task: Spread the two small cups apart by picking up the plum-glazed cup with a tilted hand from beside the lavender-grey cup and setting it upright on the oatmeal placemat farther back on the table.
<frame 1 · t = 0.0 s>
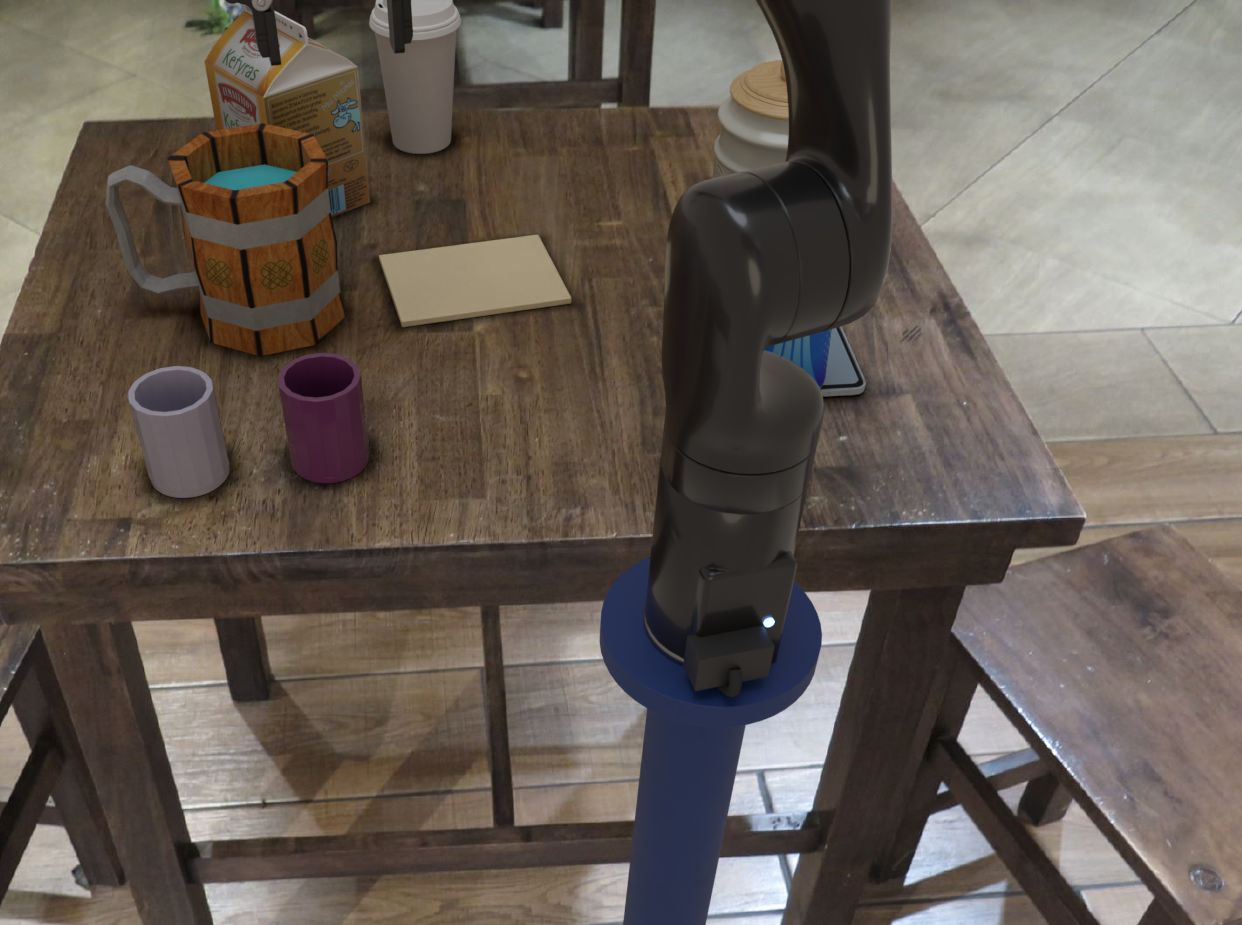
hand: (337, 55, 87), 28 cm above the table, tool pointing down, fingers open, 8 cm apart
milk carton: (299, 201, 131), on the table
beer can: (773, 387, 108), on the table, touching smartphone
smartphone: (803, 348, 112), on the table, touching beer can
coffee cup: (422, 142, 141), on the table
plum cup: (330, 458, 101), on the table
mug: (240, 315, 116), on the table
jar: (769, 232, 127), on the table
placemat: (473, 281, 120), on the table
grey cup: (190, 472, 100), on the table
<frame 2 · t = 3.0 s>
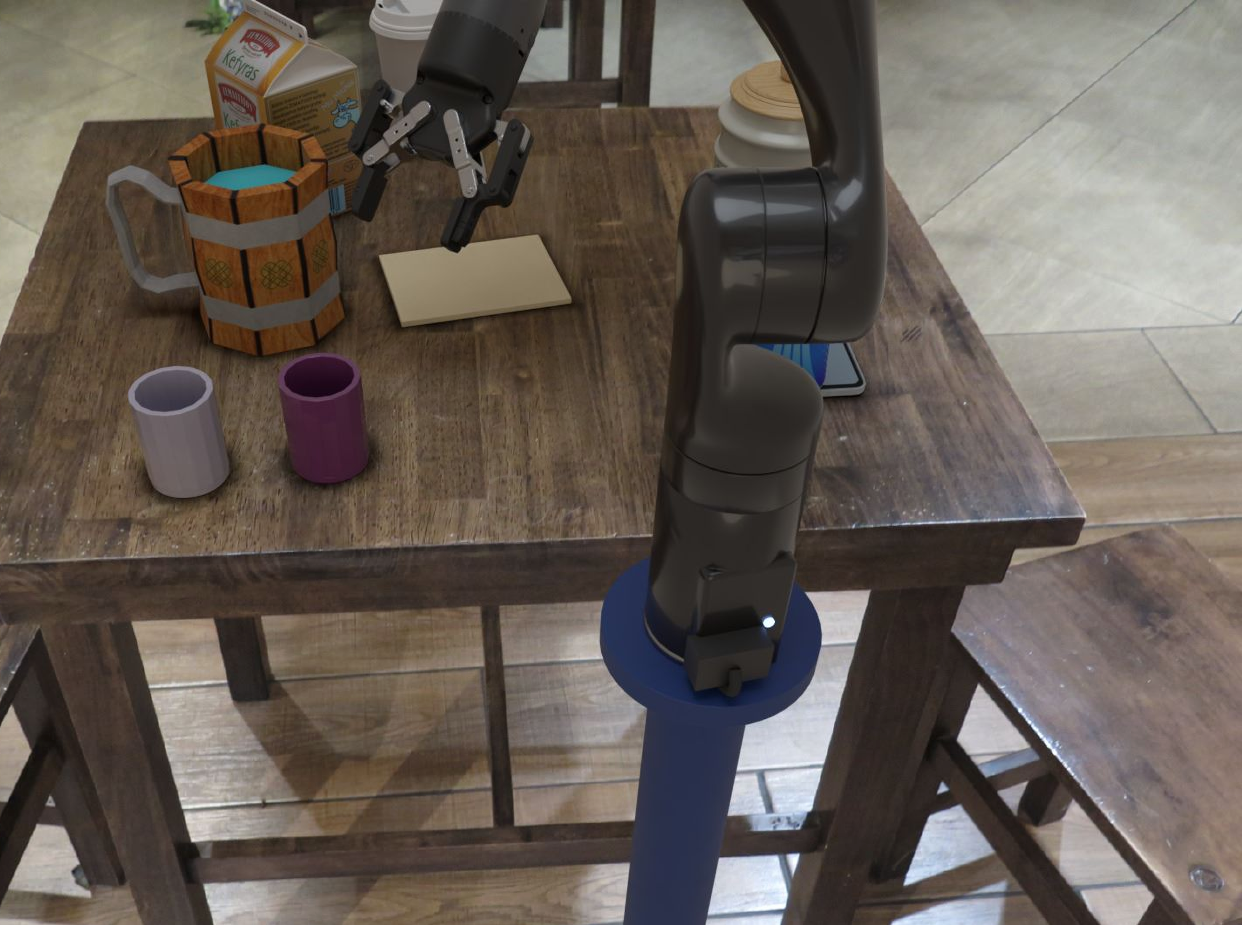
hand: (404, 233, 98), 15 cm above the table, tool tilted 45°, fingers open, 8 cm apart
beer can: (773, 387, 108), on the table, touching smartphone
everything else where it was.
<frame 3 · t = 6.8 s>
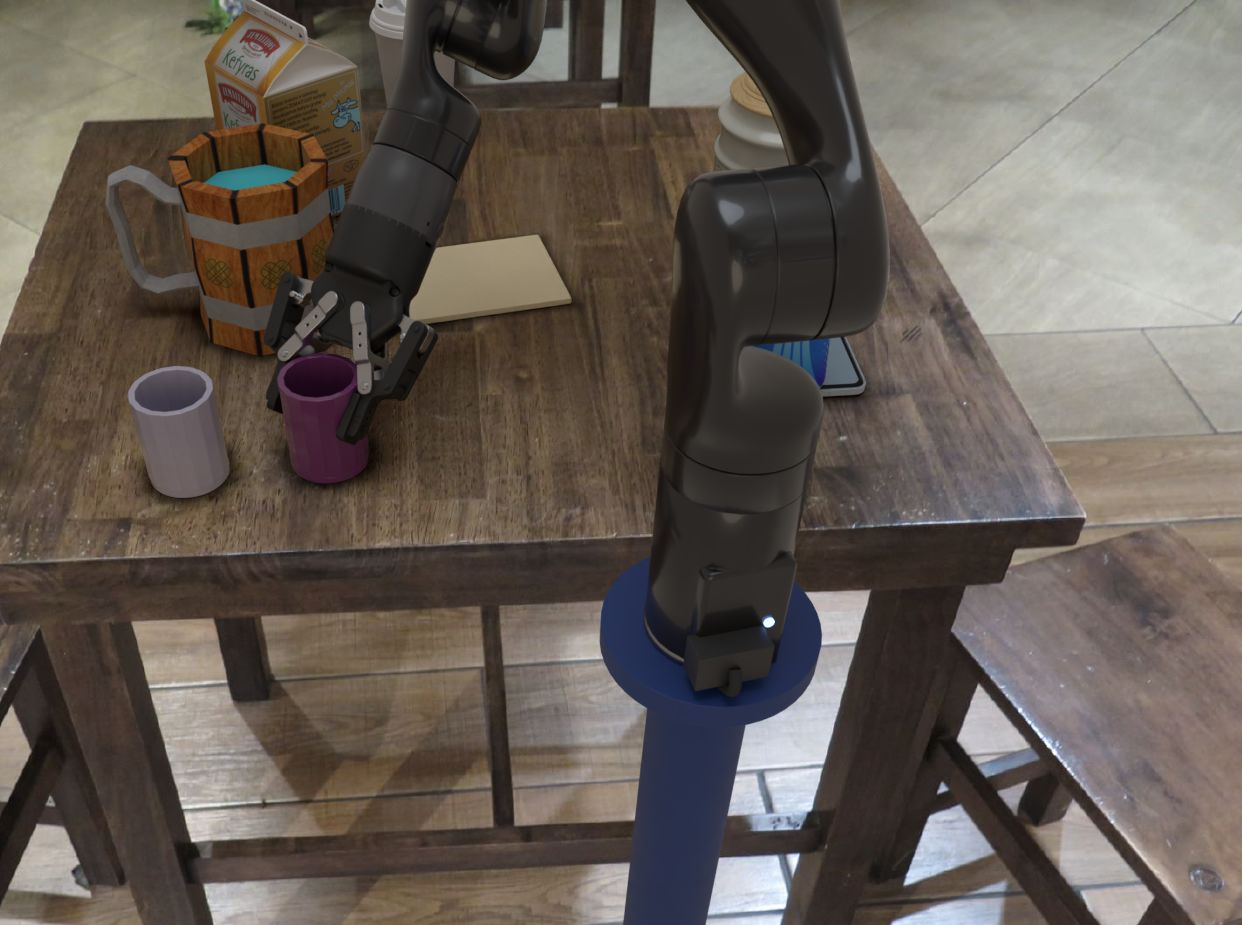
hand: (310, 426, 97), 4 cm above the table, tool tilted 45°, fingers closed on plum cup, 6 cm apart
plum cup: (330, 458, 101), on the table, touching gripper
everything else where it was.
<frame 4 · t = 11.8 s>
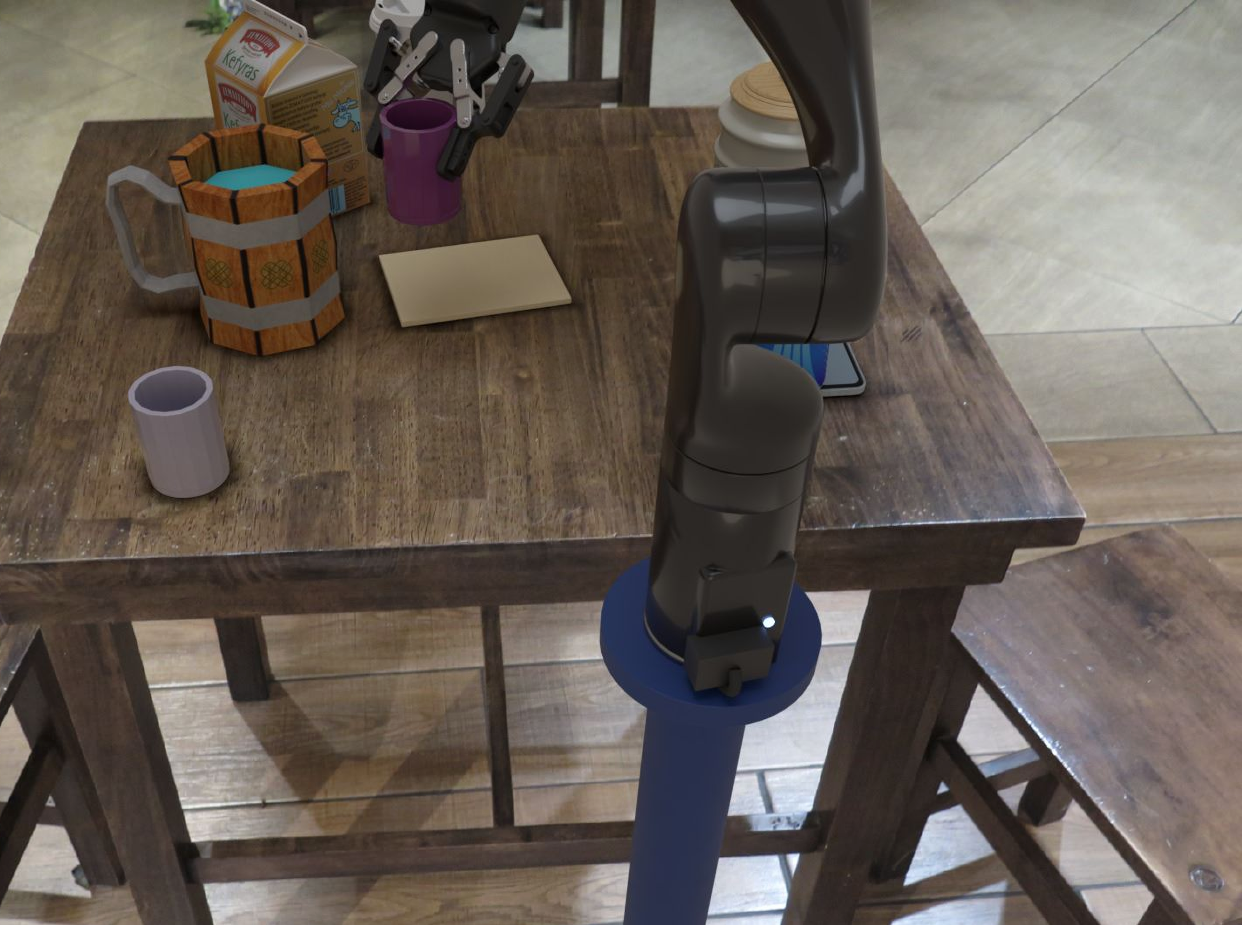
hand: (410, 166, 101), 16 cm above the table, tool tilted 45°, fingers closed on plum cup, 6 cm apart
plum cup: (424, 207, 105), point 12 cm above the table, touching gripper
everything else where it was.
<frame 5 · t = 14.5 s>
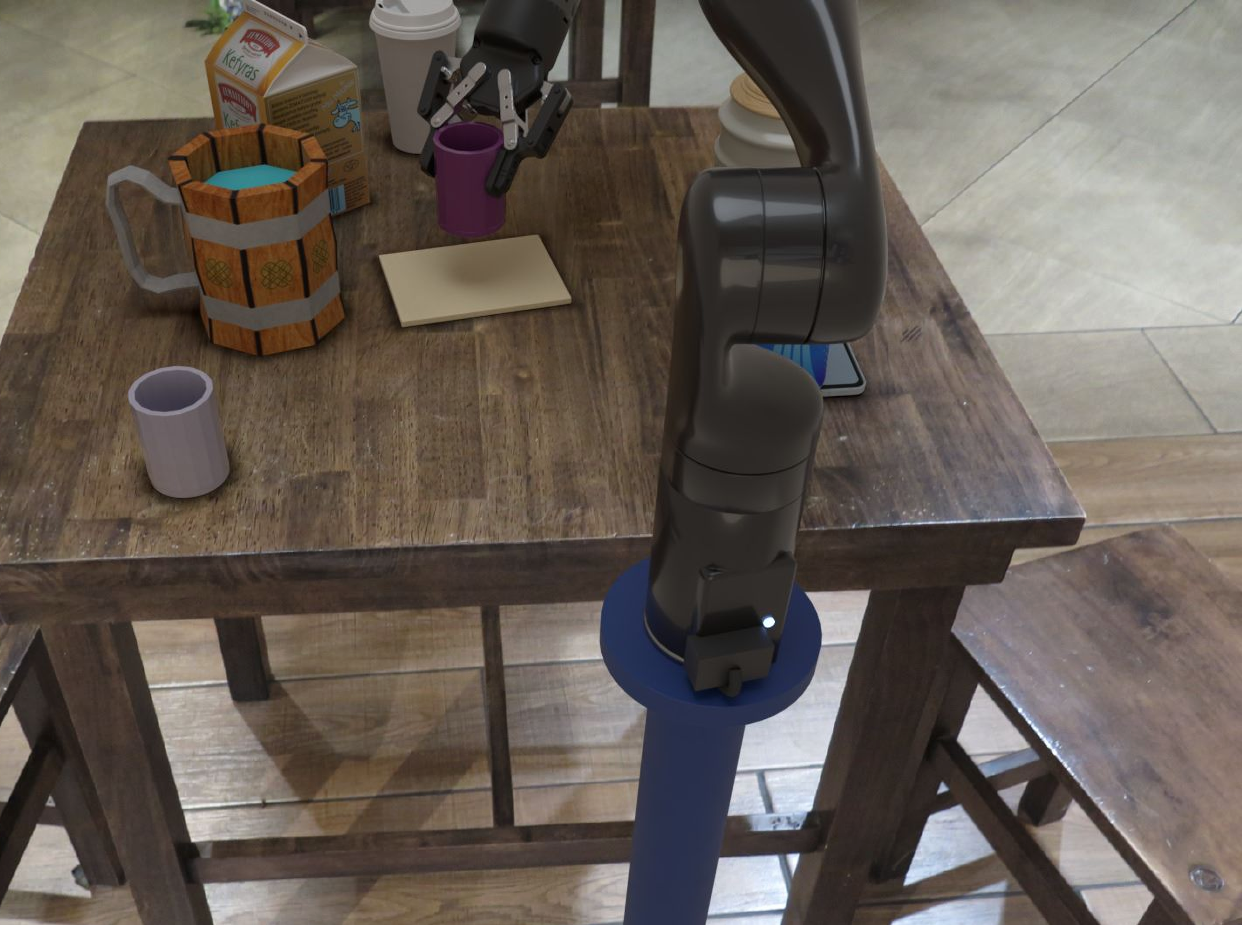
hand: (459, 184, 112), 11 cm above the table, tool tilted 45°, fingers closed on plum cup, 6 cm apart
plum cup: (471, 221, 116), point 6 cm above the table, touching gripper
everything else where it was.
when the fingers open (5 cm above the table, at t = 16.7 s): plum cup stays where it is, resting on placemat.
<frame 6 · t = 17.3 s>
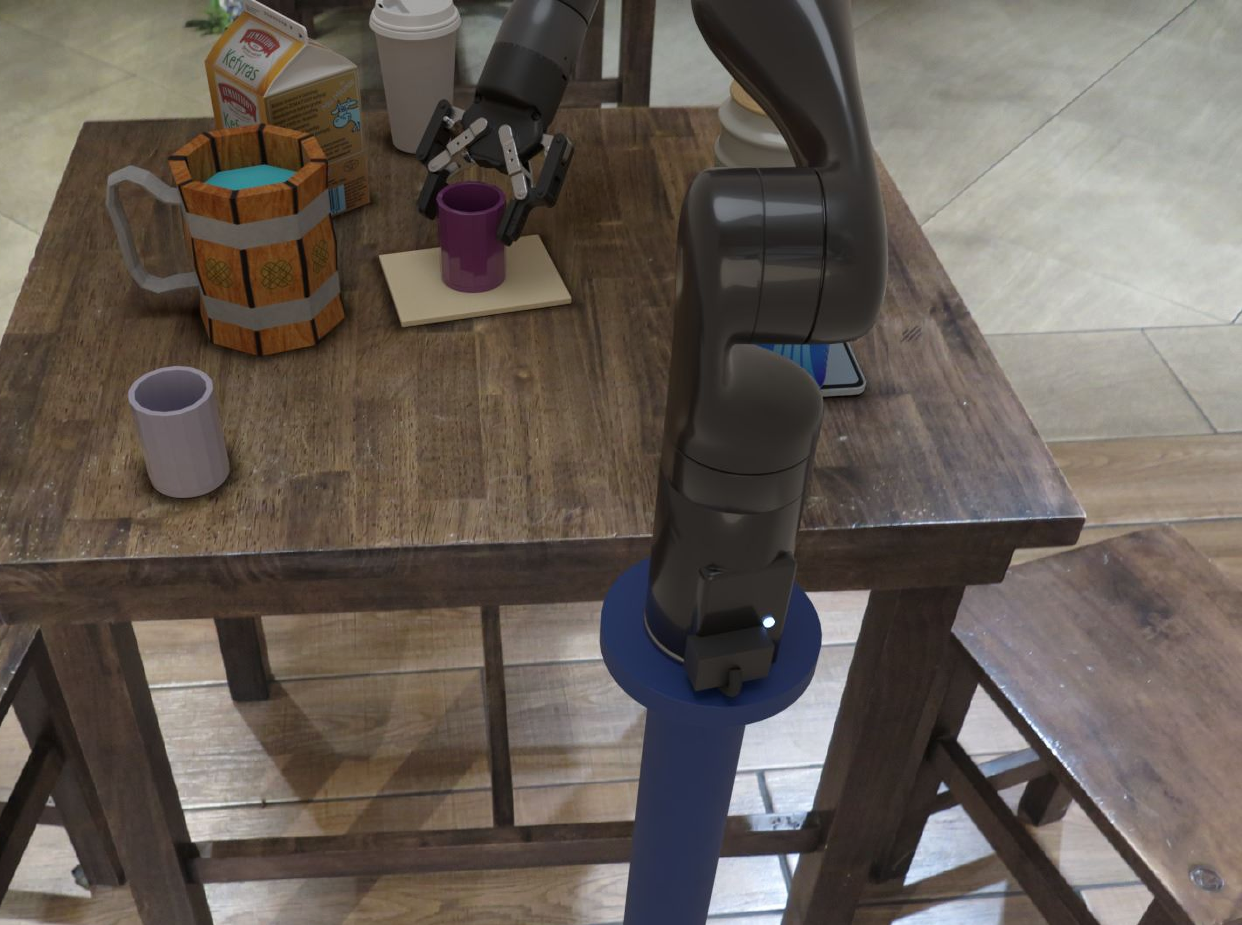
hand: (463, 230, 115), 6 cm above the table, tool tilted 45°, fingers open, 8 cm apart
plum cup: (473, 275, 120), point 1 cm above the table, touching placemat
everything else where it was.
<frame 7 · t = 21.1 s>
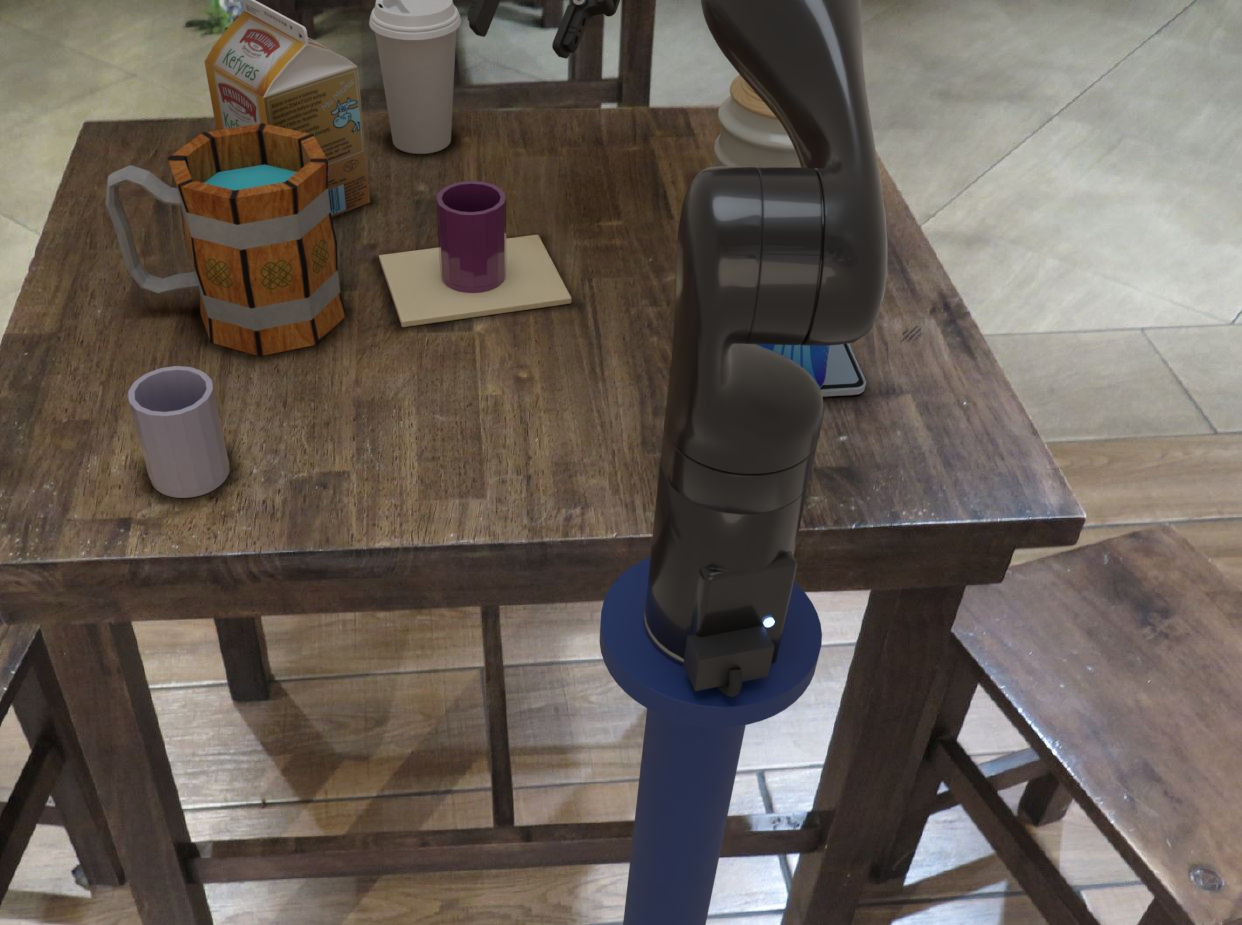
hand: (517, 43, 109), 21 cm above the table, tool tilted 45°, fingers open, 8 cm apart
nothing on the table moved.
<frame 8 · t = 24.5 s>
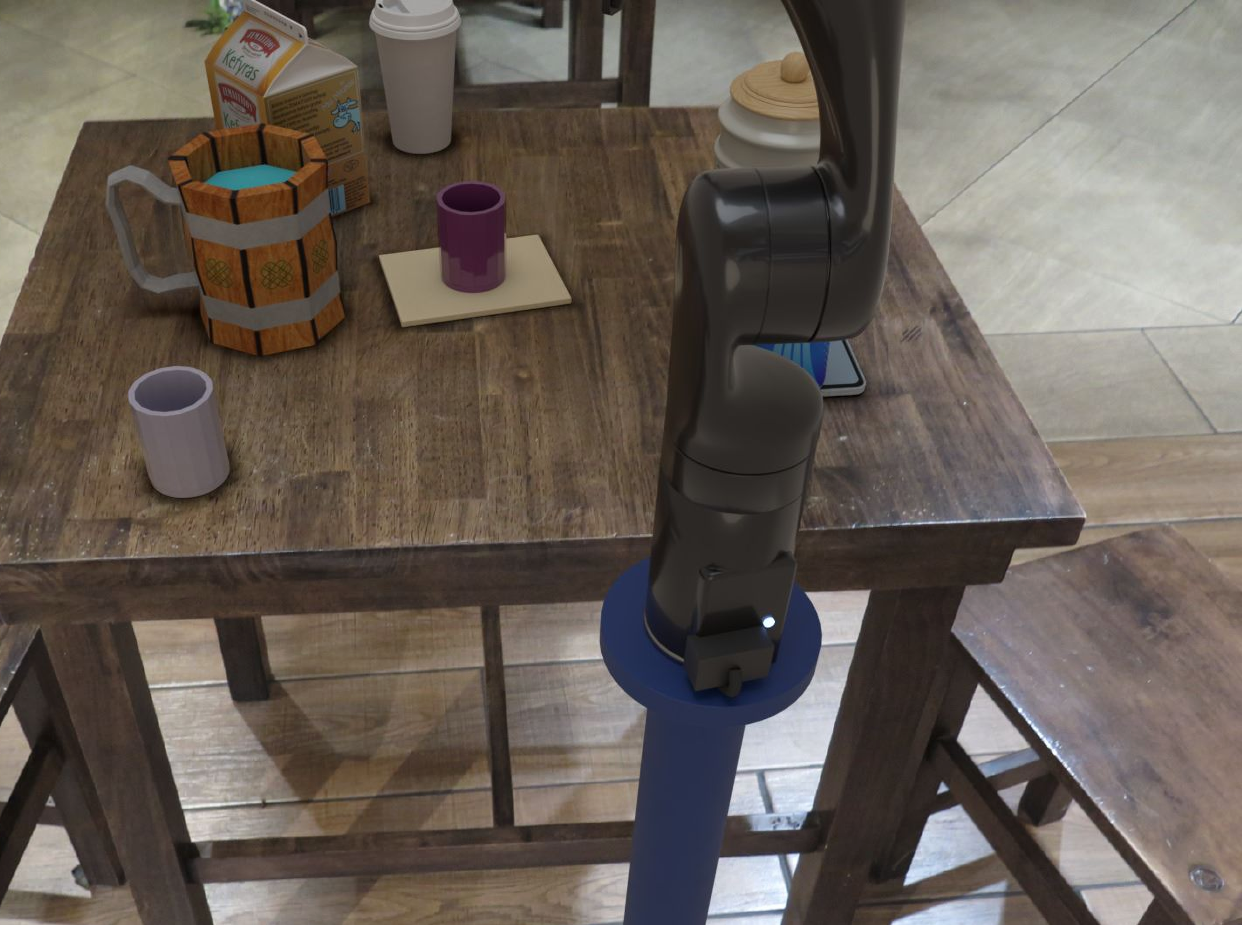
hand: (564, 0, 96), 28 cm above the table, tool pointing down, fingers open, 8 cm apart
nothing on the table moved.
at the end: plum cup inside the target area on the placemat (0.1 cm from its centre), point 0.6 cm above the placemat's base; plum cup tilted 0°; grey cup moved 0.0 cm from its start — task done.
